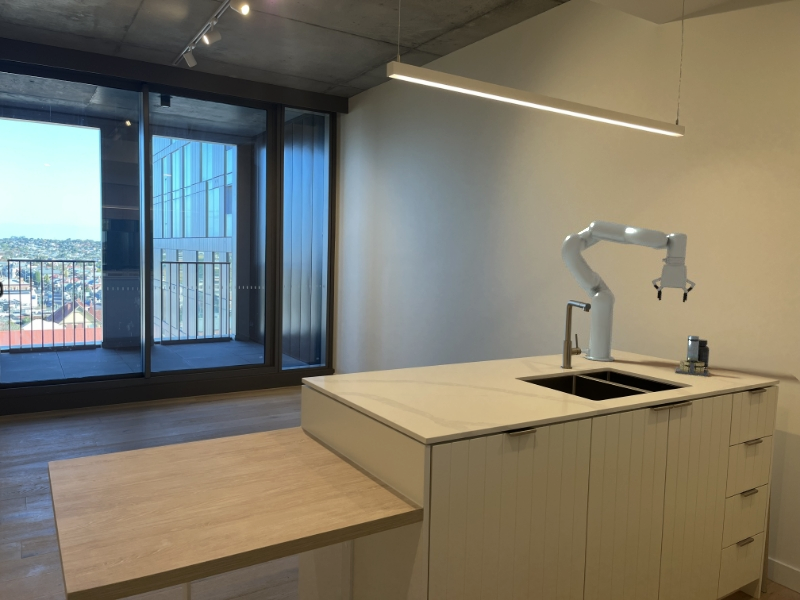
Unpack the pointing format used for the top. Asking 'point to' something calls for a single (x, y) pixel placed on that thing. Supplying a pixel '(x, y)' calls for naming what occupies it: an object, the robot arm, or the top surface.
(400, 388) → the top surface
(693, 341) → the steel tube
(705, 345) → the supplement bottle
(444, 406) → the top surface
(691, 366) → the firebox
